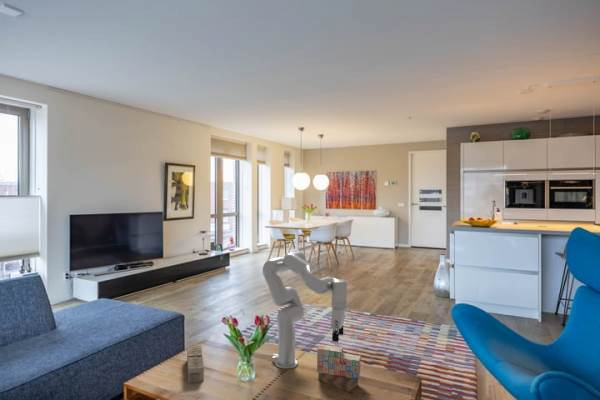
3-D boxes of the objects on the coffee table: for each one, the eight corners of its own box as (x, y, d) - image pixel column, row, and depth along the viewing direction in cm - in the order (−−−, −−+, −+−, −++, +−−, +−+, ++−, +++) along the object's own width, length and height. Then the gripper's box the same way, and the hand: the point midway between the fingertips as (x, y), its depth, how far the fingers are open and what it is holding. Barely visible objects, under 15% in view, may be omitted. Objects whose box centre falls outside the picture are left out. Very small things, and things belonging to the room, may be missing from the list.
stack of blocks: (360, 374, 183) (361, 349, 183) (358, 379, 177) (358, 354, 177) (320, 367, 190) (320, 343, 191) (316, 372, 185) (317, 348, 185)
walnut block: (318, 380, 186) (318, 370, 186) (328, 374, 193) (328, 364, 193) (348, 392, 175) (348, 382, 175) (357, 385, 182) (358, 375, 182)
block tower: (187, 361, 207) (187, 385, 179) (187, 346, 207) (187, 367, 179) (201, 360, 209) (204, 382, 182) (201, 345, 210) (204, 365, 182)
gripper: (336, 299, 194) (334, 330, 194) (327, 308, 178) (325, 342, 178) (349, 301, 191) (348, 333, 191) (342, 310, 175) (340, 345, 175)
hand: (337, 337), depth 185 cm, fingers open, 9 cm apart
